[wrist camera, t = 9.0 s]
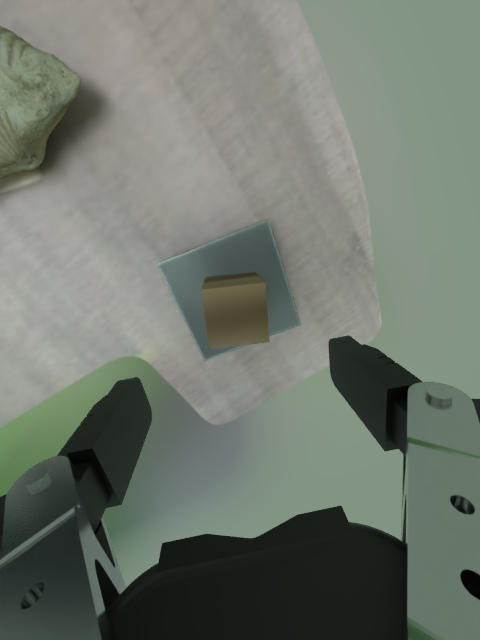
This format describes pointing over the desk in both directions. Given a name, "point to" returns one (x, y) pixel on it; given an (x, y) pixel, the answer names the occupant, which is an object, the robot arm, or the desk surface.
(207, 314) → the brass block
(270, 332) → the grey-green square slab
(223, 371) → the desk surface
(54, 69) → the seashell
